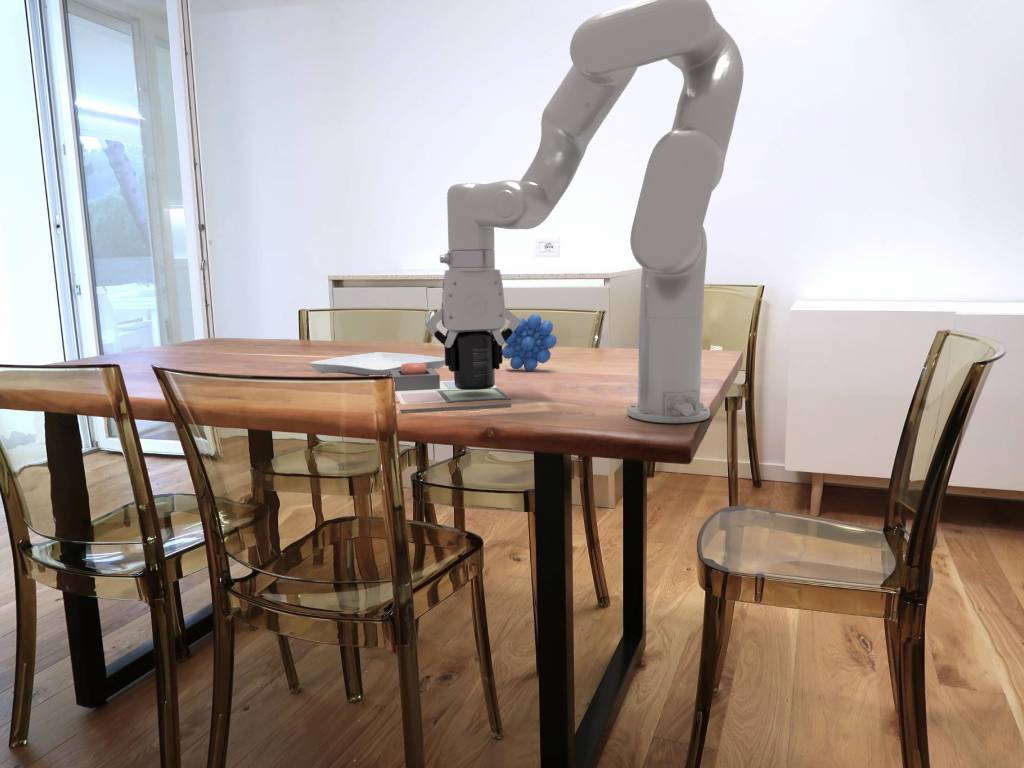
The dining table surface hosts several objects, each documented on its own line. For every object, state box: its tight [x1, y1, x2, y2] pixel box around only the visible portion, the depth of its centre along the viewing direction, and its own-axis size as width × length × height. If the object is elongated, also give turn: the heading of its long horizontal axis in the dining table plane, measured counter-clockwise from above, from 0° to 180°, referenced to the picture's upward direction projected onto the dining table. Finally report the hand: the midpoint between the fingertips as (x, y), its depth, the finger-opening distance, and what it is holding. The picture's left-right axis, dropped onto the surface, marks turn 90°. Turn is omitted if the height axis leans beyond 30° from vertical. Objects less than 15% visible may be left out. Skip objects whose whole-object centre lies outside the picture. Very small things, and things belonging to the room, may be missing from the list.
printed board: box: [394, 380, 512, 414], centre depth 143 cm, size 21×18×2 cm
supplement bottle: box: [453, 331, 496, 390], centre depth 138 cm, size 7×7×12 cm
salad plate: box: [308, 351, 445, 376], centre depth 172 cm, size 21×21×3 cm
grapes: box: [502, 313, 558, 372], centre depth 174 cm, size 12×7×12 cm, turn 77°
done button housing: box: [389, 368, 441, 391], centre depth 148 cm, size 8×8×2 cm
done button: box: [401, 363, 426, 375], centre depth 148 cm, size 4×4×2 cm
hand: (473, 368), depth 138 cm, fingers closed on supplement bottle, 6 cm apart
